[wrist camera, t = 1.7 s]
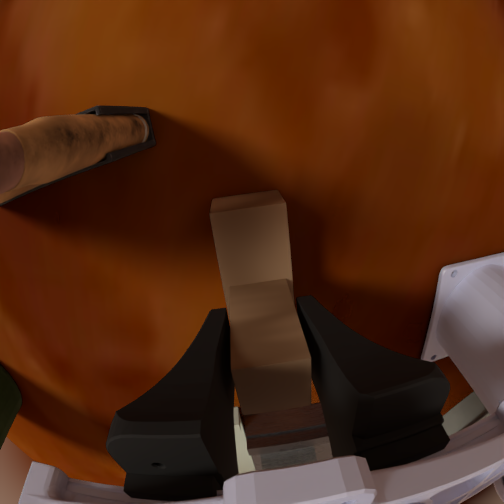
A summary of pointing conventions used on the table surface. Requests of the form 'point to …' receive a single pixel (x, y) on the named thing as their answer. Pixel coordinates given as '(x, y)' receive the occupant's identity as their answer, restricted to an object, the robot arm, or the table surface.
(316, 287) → the table surface
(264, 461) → the chip
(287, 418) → the slot plate
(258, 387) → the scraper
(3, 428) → the wine bottle
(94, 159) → the ammunition clip
